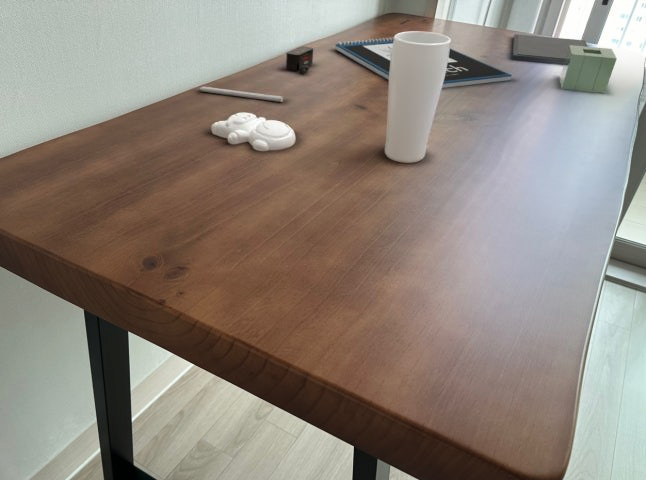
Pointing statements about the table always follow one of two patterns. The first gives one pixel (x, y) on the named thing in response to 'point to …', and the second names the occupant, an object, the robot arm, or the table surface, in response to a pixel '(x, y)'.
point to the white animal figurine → (255, 132)
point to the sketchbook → (457, 73)
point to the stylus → (605, 2)
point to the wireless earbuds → (299, 59)
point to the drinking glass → (414, 92)
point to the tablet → (542, 48)
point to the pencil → (242, 94)
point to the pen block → (587, 68)
